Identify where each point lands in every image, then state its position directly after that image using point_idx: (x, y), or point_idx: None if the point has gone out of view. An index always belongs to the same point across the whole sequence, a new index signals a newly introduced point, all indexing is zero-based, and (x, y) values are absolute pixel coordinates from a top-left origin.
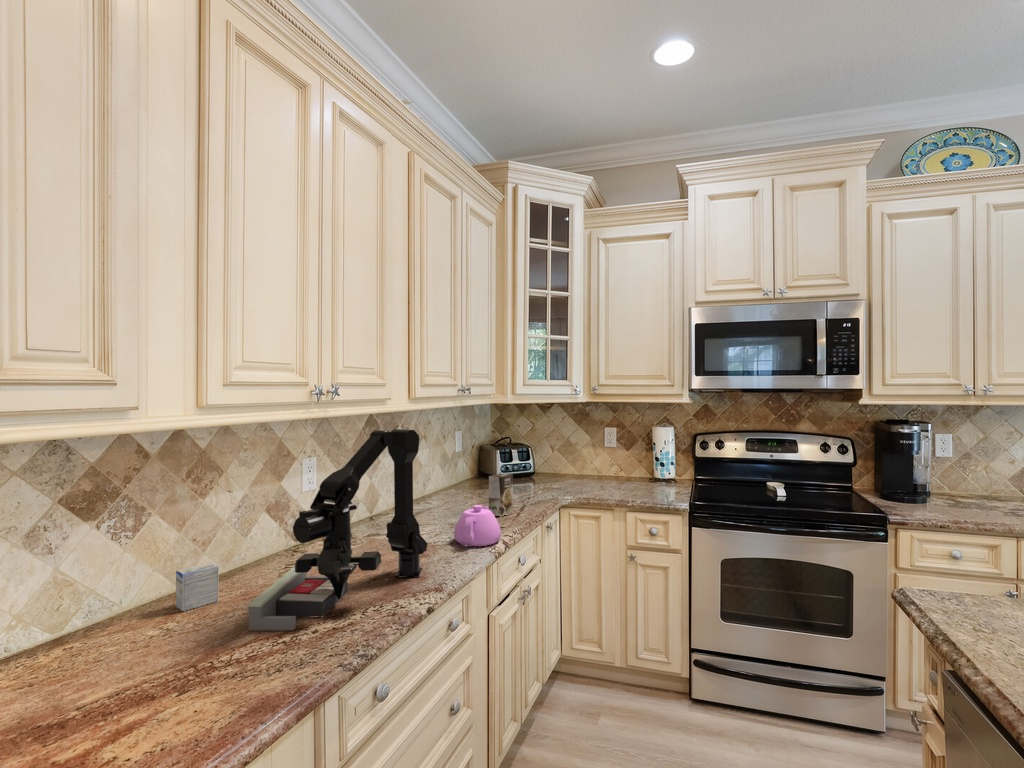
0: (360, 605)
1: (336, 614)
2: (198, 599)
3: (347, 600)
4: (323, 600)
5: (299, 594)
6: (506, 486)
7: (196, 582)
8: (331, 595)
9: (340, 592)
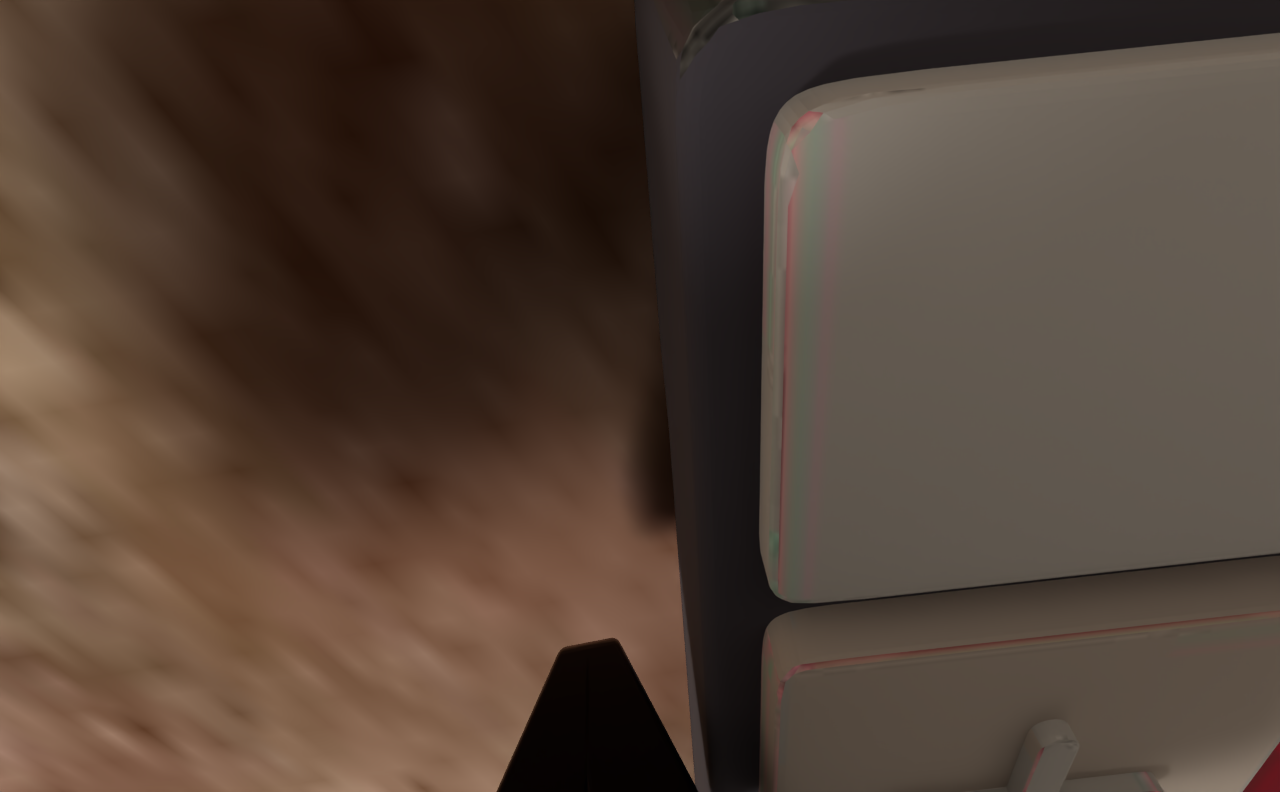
0: (222, 614)
1: (385, 173)
2: None
3: None
4: (760, 227)
5: None
6: None
7: None
8: (713, 630)
9: (538, 769)
